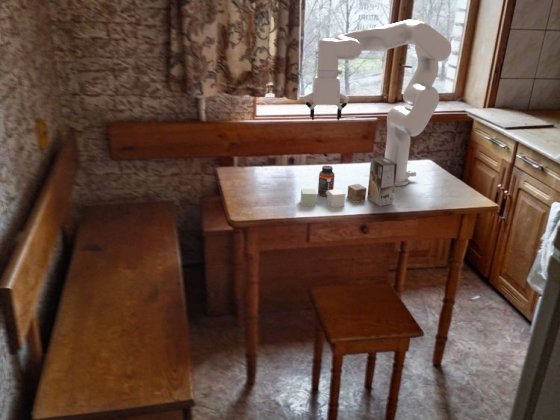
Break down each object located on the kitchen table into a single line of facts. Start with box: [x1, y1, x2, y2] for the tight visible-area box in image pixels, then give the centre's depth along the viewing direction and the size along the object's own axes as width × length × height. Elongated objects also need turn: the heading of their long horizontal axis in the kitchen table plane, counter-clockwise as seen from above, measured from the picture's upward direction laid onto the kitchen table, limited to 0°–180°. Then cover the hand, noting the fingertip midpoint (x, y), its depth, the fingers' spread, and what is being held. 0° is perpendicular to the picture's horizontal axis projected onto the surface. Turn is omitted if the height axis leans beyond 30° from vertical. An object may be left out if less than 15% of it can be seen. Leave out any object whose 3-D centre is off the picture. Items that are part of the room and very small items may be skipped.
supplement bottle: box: [317, 165, 335, 198], centre depth 215 cm, size 6×6×11 cm
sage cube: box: [300, 188, 317, 207], centre depth 207 cm, size 5×5×5 cm
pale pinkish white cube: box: [326, 188, 346, 208], centre depth 207 cm, size 5×5×5 cm
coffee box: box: [366, 156, 397, 207], centre depth 210 cm, size 9×6×16 cm
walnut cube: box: [346, 183, 368, 203], centre depth 213 cm, size 5×5×5 cm
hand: (325, 119), depth 211 cm, fingers open, 9 cm apart
